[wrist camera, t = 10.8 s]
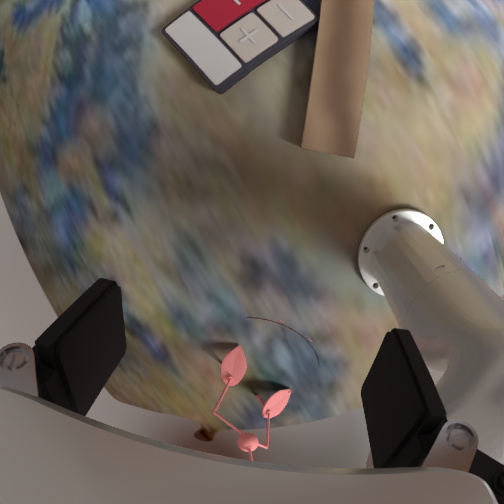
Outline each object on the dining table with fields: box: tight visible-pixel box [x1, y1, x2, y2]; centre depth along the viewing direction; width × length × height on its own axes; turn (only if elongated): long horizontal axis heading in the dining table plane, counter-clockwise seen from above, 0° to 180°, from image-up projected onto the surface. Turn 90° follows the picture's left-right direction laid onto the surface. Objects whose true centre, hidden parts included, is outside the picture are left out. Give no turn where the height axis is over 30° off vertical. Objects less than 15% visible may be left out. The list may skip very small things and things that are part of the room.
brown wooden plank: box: [300, 0, 374, 158], centre depth 29 cm, size 6×32×3 cm, turn 173°
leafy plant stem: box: [213, 317, 319, 461], centre depth 33 cm, size 15×26×35 cm, turn 39°
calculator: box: [162, 0, 319, 94], centre depth 30 cm, size 11×4×15 cm
